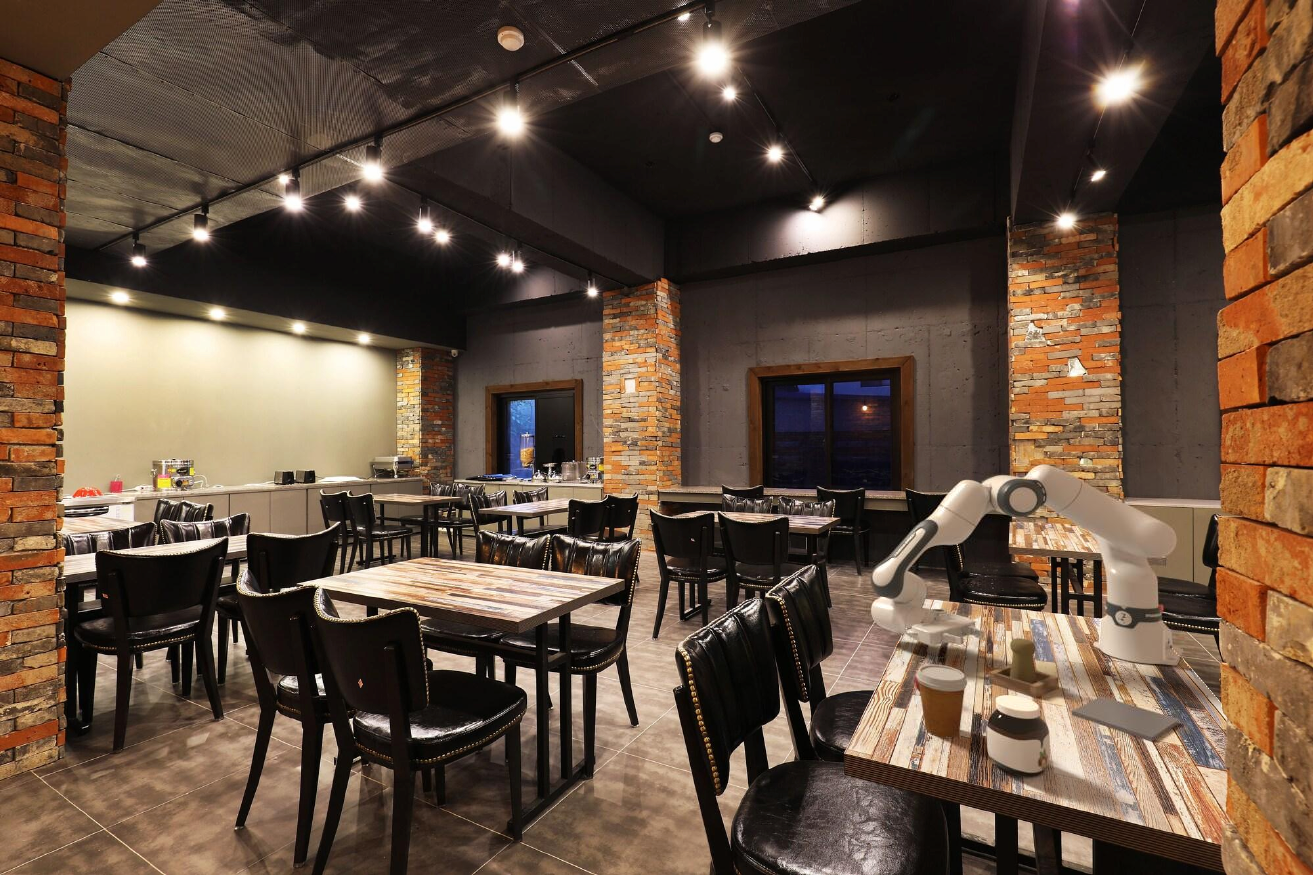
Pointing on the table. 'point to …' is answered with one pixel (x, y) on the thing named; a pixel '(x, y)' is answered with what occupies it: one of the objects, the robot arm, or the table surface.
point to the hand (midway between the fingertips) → (972, 638)
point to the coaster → (1126, 718)
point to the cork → (1023, 660)
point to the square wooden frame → (1034, 690)
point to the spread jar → (1018, 737)
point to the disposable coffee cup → (941, 699)
